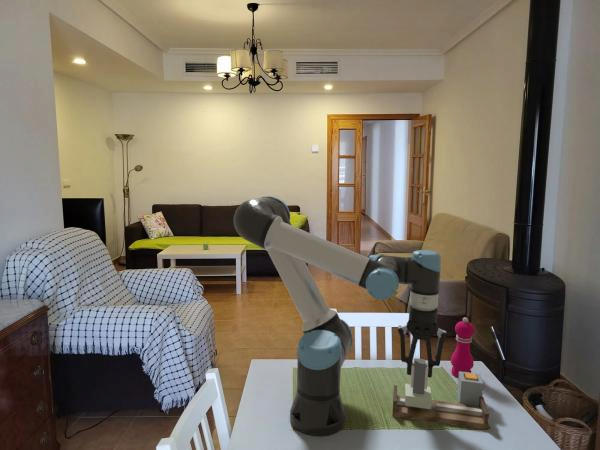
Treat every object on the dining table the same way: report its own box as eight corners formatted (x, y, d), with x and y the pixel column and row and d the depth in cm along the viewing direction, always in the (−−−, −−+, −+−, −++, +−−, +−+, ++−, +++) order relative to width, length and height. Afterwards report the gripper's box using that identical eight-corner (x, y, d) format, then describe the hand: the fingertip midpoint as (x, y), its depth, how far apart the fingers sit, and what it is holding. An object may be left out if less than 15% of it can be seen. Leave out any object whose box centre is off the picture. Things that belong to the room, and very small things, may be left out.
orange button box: (459, 406, 129) (461, 380, 128) (457, 396, 135) (458, 371, 133) (481, 409, 127) (483, 383, 126) (477, 398, 133) (480, 373, 132)
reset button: (464, 396, 130) (466, 377, 129) (463, 391, 132) (465, 372, 132) (475, 398, 129) (477, 378, 128) (474, 392, 132) (475, 374, 131)
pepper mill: (474, 380, 144) (479, 322, 141) (451, 378, 146) (455, 320, 143) (470, 370, 151) (475, 314, 148) (448, 368, 153) (452, 312, 150)
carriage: (405, 405, 123) (407, 365, 121) (404, 393, 130) (407, 354, 128) (431, 409, 122) (433, 368, 120) (429, 396, 128) (432, 357, 127)
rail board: (392, 415, 123) (393, 400, 123) (393, 399, 132) (393, 385, 131) (487, 429, 118) (489, 414, 117) (481, 411, 126) (483, 396, 126)
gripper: (393, 308, 120) (389, 388, 123) (455, 313, 116) (449, 396, 120) (394, 299, 127) (389, 376, 130) (452, 305, 124) (446, 383, 127)
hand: (418, 386), depth 125 cm, fingers closed on carriage, 3 cm apart
